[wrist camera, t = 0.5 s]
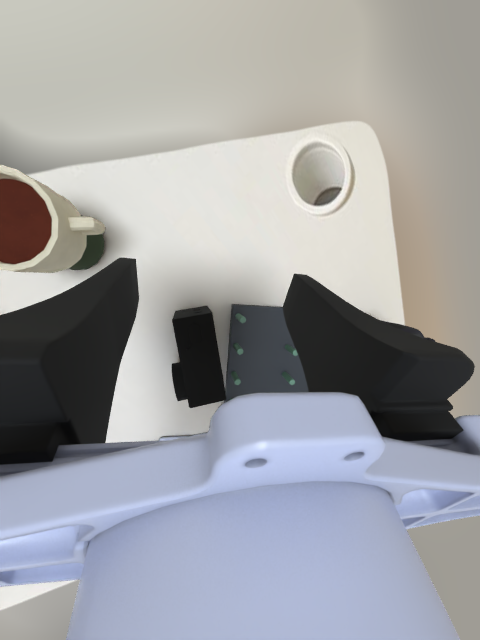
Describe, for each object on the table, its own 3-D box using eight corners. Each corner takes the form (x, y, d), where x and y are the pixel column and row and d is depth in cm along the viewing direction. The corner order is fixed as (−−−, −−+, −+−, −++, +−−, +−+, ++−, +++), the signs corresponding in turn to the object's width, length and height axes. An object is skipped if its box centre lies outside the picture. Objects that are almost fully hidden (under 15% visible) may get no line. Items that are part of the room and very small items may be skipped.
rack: (327, 405, 41) (342, 419, 37) (223, 407, 37) (228, 423, 34) (340, 310, 39) (357, 314, 35) (231, 304, 35) (237, 307, 31)
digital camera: (165, 311, 34) (160, 320, 27) (207, 304, 35) (212, 311, 28) (180, 386, 36) (178, 411, 29) (219, 377, 37) (226, 400, 30)
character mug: (122, 209, 31) (78, 163, 18) (131, 270, 32) (95, 266, 20) (17, 212, 29) (-113, 162, 16) (31, 277, 30) (-79, 277, 18)
